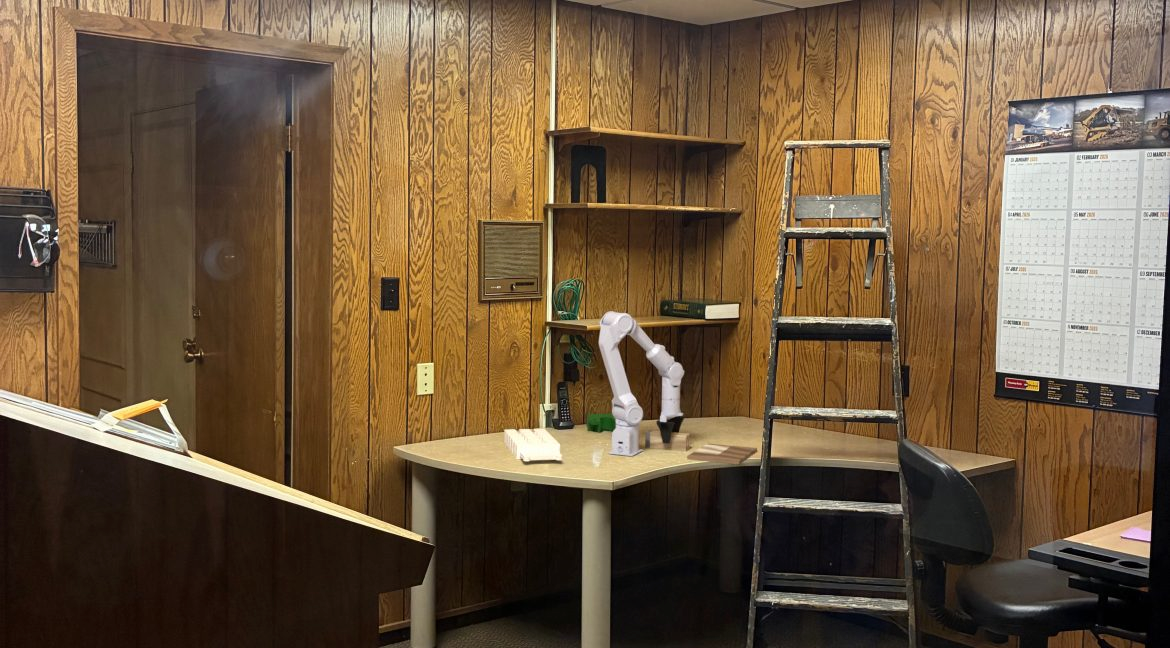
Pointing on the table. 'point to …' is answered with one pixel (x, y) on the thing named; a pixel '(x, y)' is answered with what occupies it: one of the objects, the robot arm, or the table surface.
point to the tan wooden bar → (676, 443)
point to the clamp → (601, 422)
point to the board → (722, 453)
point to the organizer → (532, 444)
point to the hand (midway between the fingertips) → (670, 441)
